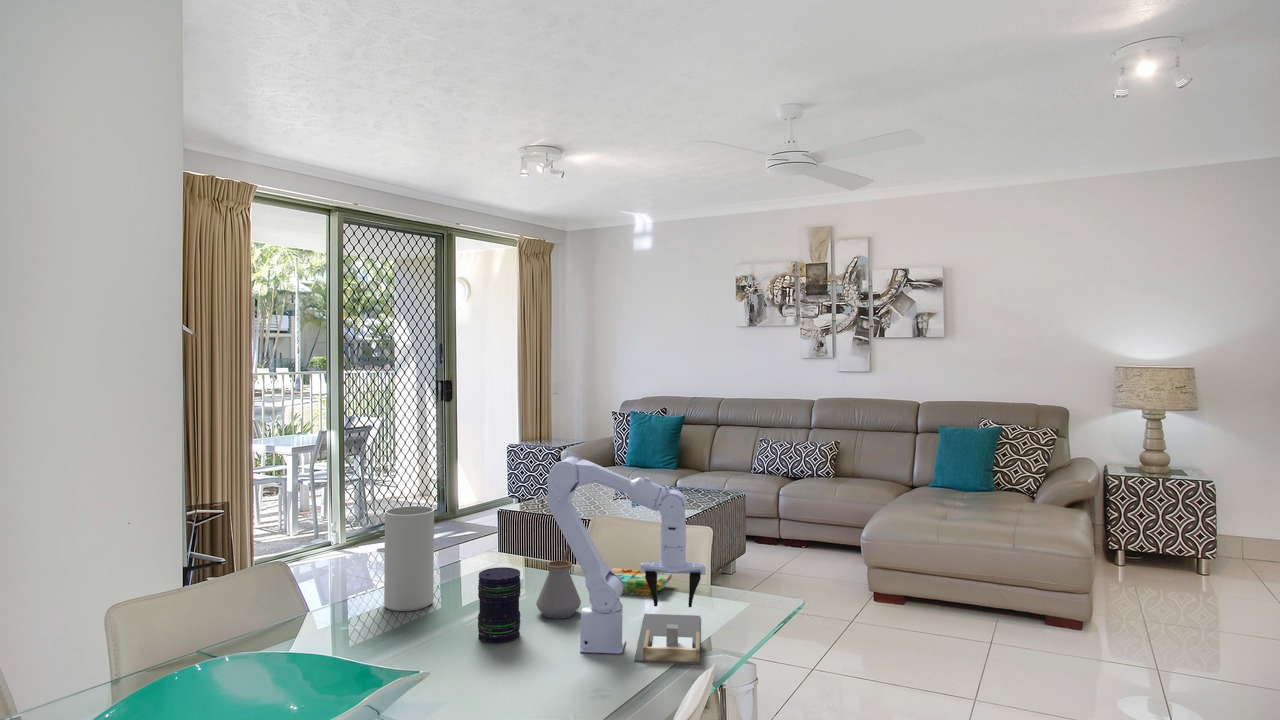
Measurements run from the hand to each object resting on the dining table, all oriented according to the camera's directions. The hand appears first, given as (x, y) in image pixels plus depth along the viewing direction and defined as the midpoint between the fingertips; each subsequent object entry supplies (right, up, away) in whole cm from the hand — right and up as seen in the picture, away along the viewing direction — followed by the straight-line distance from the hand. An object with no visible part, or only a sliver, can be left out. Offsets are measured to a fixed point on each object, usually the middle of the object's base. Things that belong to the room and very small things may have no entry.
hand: (673, 605), depth 165 cm
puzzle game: (-9, -11, +46) cm, 48 cm away
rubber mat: (0, -10, +8) cm, 13 cm away
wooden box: (0, -10, 0) cm, 10 cm away
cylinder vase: (-69, -10, +31) cm, 76 cm away
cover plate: (0, -10, 0) cm, 10 cm away
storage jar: (-41, -10, +8) cm, 43 cm away
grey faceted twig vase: (-28, -11, +29) cm, 42 cm away
